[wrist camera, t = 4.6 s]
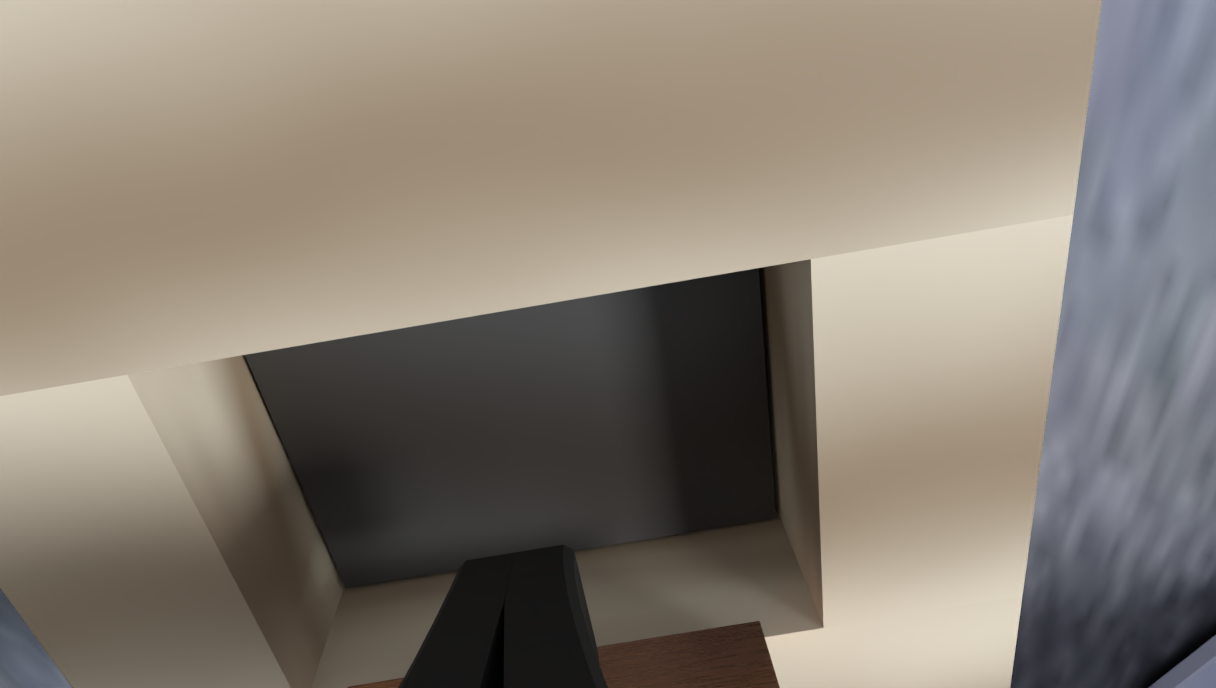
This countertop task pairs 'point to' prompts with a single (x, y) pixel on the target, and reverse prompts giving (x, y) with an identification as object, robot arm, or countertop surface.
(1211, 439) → the countertop surface
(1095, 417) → the countertop surface
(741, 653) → the slider
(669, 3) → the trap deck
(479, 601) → the robot arm
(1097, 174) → the countertop surface
